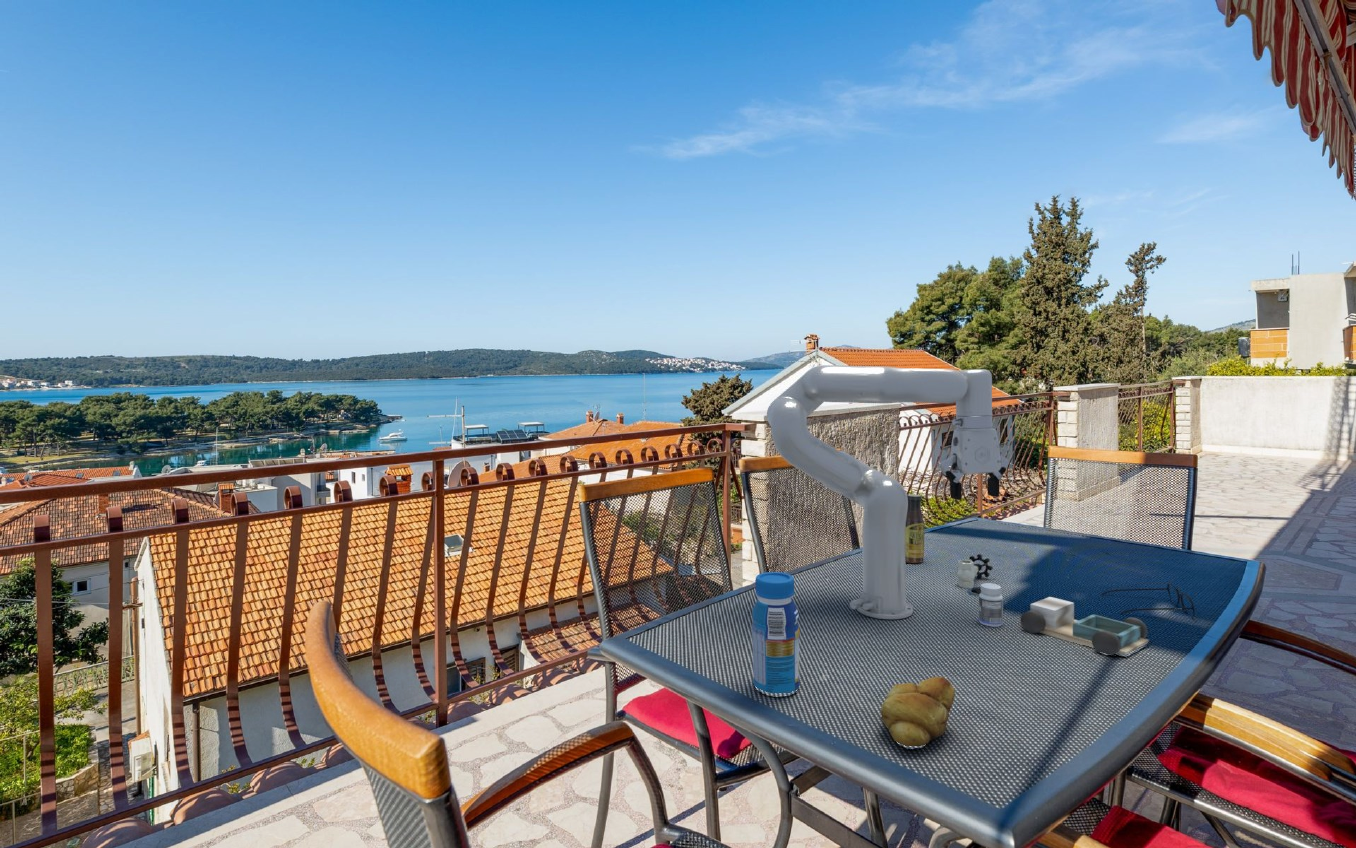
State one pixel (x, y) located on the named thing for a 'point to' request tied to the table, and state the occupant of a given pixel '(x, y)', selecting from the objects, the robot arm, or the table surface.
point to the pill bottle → (991, 605)
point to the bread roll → (918, 710)
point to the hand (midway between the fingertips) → (974, 497)
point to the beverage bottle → (775, 634)
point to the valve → (971, 571)
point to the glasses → (1160, 608)
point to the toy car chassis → (1084, 627)
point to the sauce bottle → (914, 530)
